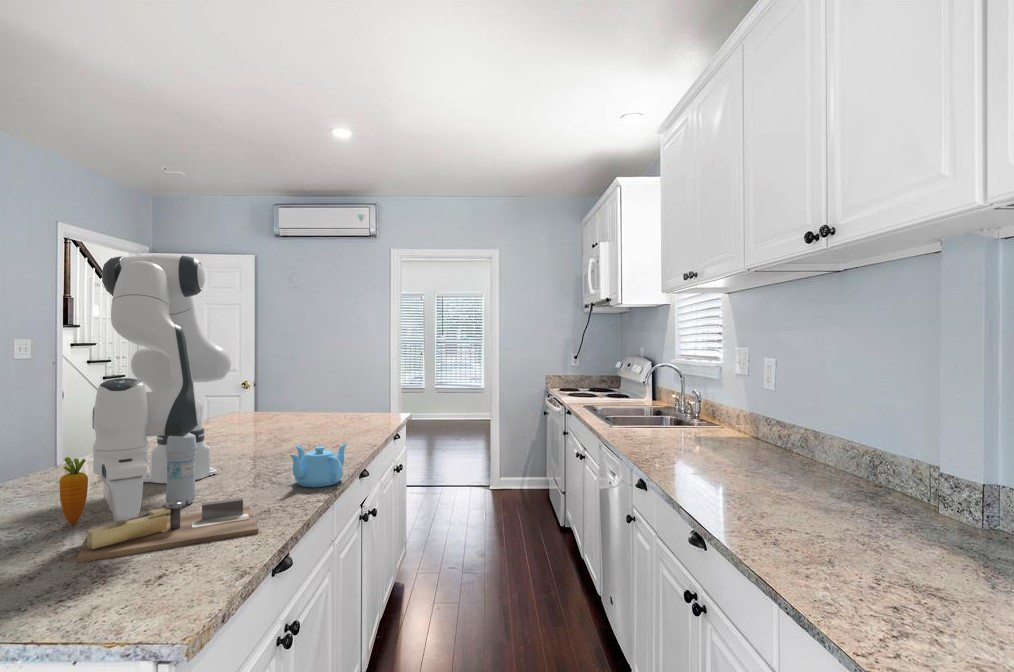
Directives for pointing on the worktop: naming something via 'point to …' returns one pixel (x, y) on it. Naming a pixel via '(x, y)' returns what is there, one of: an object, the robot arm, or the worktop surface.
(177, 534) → the latch board
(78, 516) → the carrot
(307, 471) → the teapot
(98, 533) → the swing bar
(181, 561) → the worktop surface
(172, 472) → the bottle
